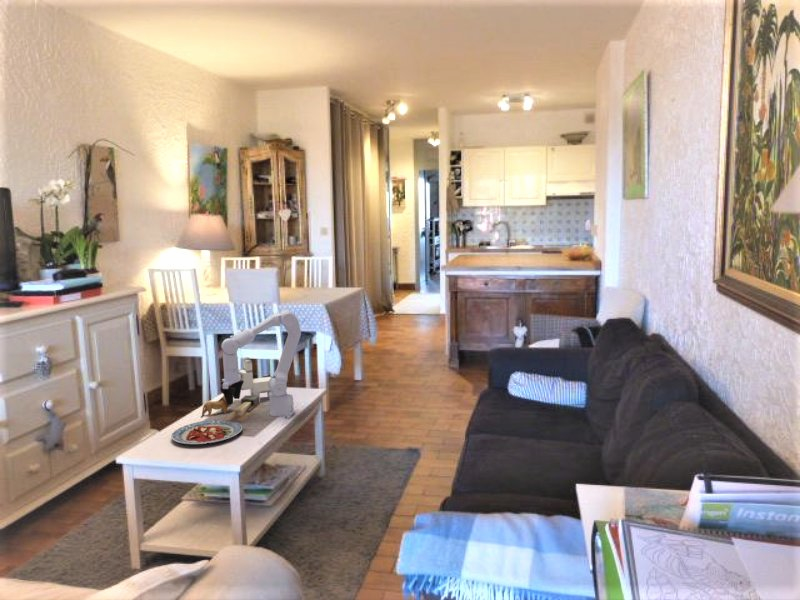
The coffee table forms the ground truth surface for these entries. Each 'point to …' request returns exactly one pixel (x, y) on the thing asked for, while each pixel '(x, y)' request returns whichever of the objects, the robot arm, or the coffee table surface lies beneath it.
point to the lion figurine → (215, 406)
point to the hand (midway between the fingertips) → (233, 401)
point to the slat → (243, 409)
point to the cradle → (255, 406)
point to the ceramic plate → (206, 432)
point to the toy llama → (253, 380)
